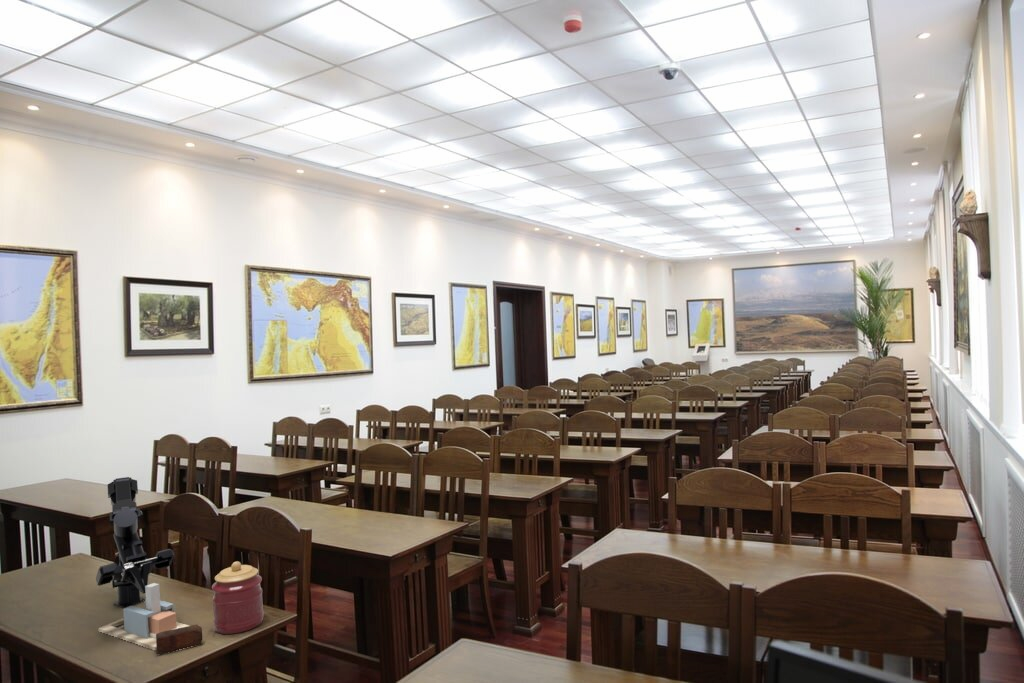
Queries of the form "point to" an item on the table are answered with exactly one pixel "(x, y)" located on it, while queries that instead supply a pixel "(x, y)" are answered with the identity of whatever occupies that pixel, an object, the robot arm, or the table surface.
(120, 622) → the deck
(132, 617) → the light blue blocks
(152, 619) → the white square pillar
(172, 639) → the brick
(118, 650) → the table surface
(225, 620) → the canister
